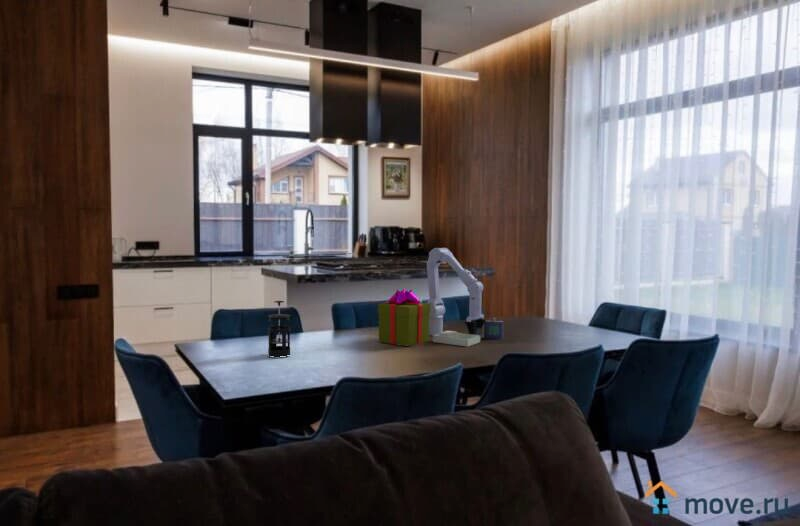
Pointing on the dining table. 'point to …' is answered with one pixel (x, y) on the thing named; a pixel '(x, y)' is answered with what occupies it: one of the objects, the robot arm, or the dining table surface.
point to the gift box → (403, 319)
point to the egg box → (449, 334)
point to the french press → (273, 330)
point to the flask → (493, 329)
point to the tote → (458, 339)
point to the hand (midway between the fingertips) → (475, 335)
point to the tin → (477, 331)
